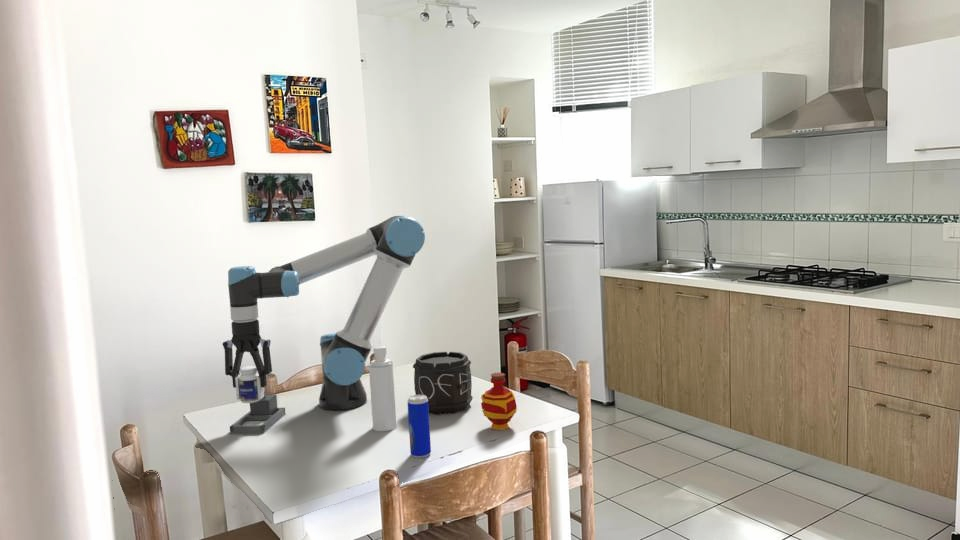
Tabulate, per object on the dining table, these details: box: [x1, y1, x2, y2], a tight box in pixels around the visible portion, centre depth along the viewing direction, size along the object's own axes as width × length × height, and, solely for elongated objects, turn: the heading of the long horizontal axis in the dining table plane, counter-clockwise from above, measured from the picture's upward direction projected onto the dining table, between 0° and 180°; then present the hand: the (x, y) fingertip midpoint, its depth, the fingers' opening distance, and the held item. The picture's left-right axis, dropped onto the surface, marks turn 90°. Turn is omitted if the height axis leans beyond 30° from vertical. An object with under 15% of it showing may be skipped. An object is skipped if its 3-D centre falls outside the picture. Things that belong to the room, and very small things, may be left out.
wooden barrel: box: [412, 351, 474, 416], centre depth 212 cm, size 18×18×16 cm
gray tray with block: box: [229, 390, 286, 435], centre depth 204 cm, size 10×17×9 cm, turn 175°
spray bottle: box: [368, 345, 397, 432], centre depth 195 cm, size 7×7×25 cm
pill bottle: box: [239, 365, 260, 404], centre depth 200 cm, size 6×6×10 cm
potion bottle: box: [480, 372, 518, 431], centre depth 191 cm, size 10×10×15 cm
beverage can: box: [407, 394, 432, 459], centre depth 173 cm, size 5×5×15 cm
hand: (250, 397), depth 200 cm, fingers closed on pill bottle, 6 cm apart
